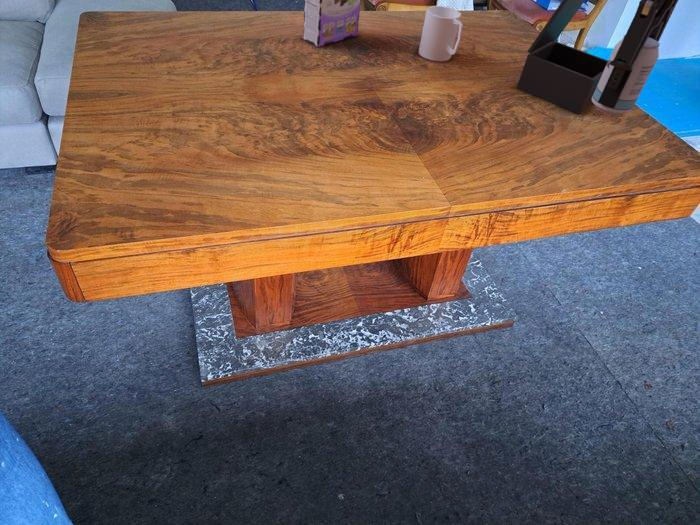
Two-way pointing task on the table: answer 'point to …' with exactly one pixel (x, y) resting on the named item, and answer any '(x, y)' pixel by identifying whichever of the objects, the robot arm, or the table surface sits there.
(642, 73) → the beverage can
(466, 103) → the table surface
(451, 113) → the table surface
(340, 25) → the candy box
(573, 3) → the lid
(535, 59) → the dark piece
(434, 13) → the cup
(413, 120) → the table surface
